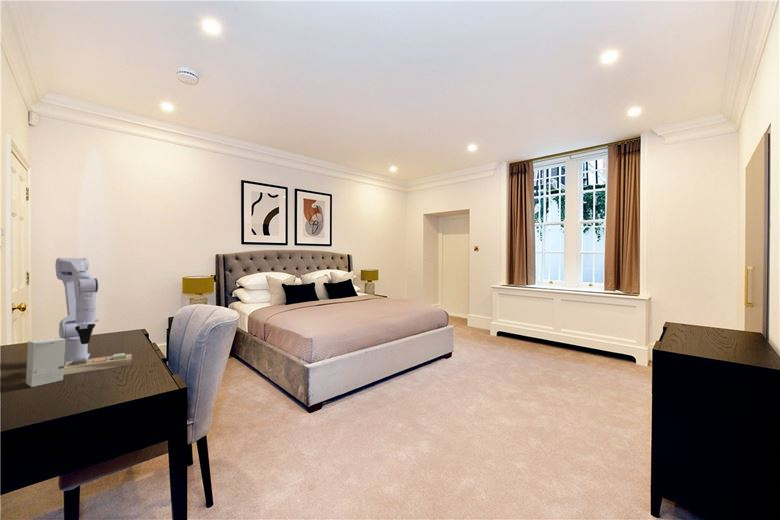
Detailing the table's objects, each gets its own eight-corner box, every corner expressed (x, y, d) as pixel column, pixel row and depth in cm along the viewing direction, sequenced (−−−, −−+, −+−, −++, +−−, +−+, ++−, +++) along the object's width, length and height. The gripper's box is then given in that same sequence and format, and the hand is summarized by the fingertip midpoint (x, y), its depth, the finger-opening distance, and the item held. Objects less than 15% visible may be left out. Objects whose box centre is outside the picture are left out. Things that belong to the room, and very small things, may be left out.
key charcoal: (73, 364, 128) (73, 359, 128) (85, 363, 130) (85, 357, 130) (71, 367, 125) (71, 361, 125) (84, 365, 127) (84, 360, 127)
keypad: (66, 368, 129) (66, 361, 129) (131, 359, 141) (131, 353, 141) (62, 375, 122) (62, 368, 122) (131, 365, 134) (131, 359, 134)
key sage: (113, 359, 135) (113, 354, 135) (124, 358, 137) (124, 352, 137) (112, 362, 132) (113, 356, 132) (124, 360, 135) (124, 355, 135)
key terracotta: (93, 364, 132) (93, 359, 131) (105, 363, 134) (105, 357, 134) (92, 367, 129) (93, 361, 129) (105, 365, 131) (105, 360, 131)
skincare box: (31, 387, 110) (31, 343, 110) (25, 383, 113) (25, 340, 113) (65, 380, 117) (65, 338, 117) (58, 376, 120) (59, 335, 120)
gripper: (97, 311, 126) (97, 346, 127) (100, 305, 138) (100, 338, 138) (72, 312, 122) (71, 349, 122) (77, 307, 134) (77, 340, 134)
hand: (85, 343), depth 130 cm, fingers closed
